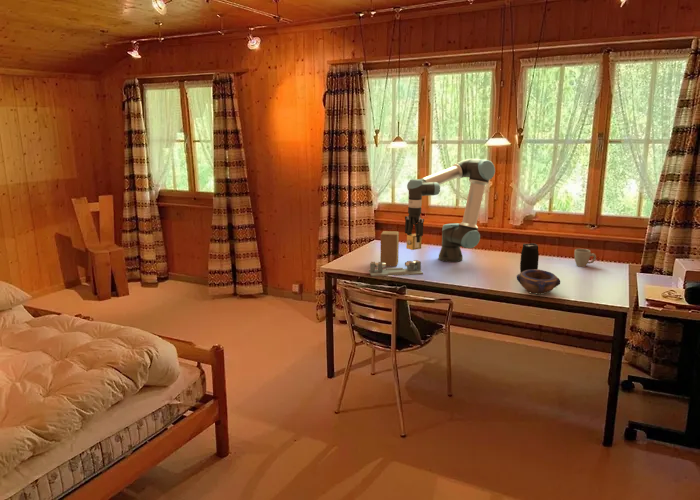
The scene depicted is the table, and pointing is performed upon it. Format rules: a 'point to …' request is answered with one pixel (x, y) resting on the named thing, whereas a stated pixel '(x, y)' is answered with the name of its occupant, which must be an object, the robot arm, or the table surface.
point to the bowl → (538, 281)
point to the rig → (395, 272)
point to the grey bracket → (379, 265)
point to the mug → (583, 257)
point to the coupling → (412, 242)
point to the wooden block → (389, 247)
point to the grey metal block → (413, 265)
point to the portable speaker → (529, 257)
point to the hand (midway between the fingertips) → (413, 246)
